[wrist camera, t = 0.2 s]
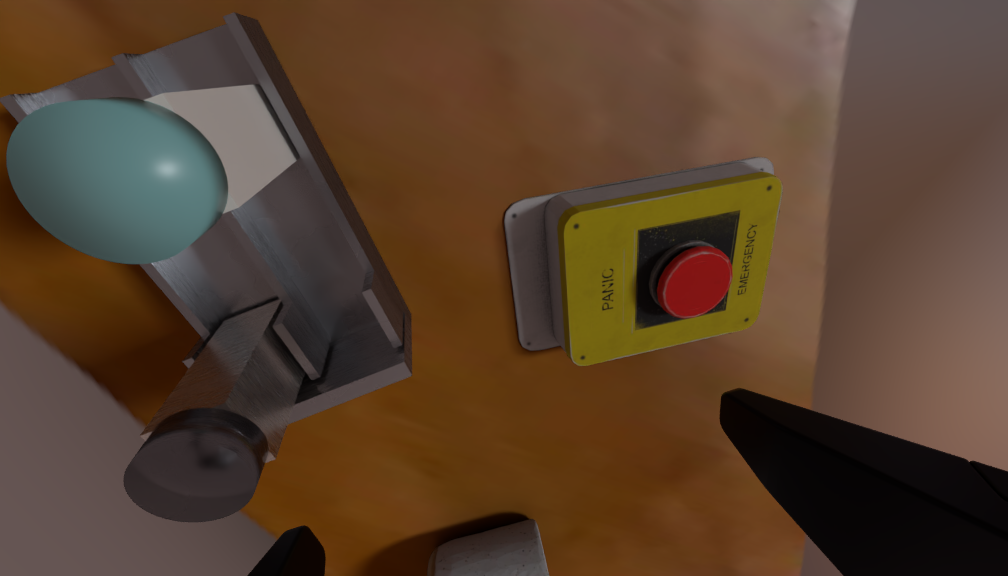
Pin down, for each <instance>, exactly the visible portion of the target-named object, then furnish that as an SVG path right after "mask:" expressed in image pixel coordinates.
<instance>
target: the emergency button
mask: <svg viewBox="0 0 1008 576" xmlns="http://www.w3.org/2000/svg"><path fill="white" fill-rule="evenodd" d="M773 174H774V170H773V164H772V163H771V162H770V161H769V160H768V159H767V158H761V157H753V158H748V159H742V160H737V161H731V162H725V163H720V164H714V165H709V166H703V167H698V168H692V169H687V170H681V171H675V172H670V173H664V174H659V175H653V176H648V177H642V178H636V179H631V180H625V181H620V182H614V183H609V184H603V185H597V186H592V187H586V188H581V189H575V190H570V191H564V192H559V193H553V194H547V195H542V196H536V197H531V198H525V199H522V200H519V201H517V202H515V203H513V204H512V205H511V206H510V207H509V208H508V209H507V211H506V213H505V218H504V225H505V233H506V241H507V248H508V256H509V264H510V272H511V280H512V287H513V295H514V303H515V311H516V319H517V327H518V334H519V341H520V343H521V344H522V346H523V348H526V349H528V350H530V351H533V350H543V349H548V348H552V347H557V346H561V347H562V348H563V349H564V351H565V352H566V353H567V356H568V357H569V358H570V359H571V360H572V361H573V362H574V363H575V364H577V365H578V366H588V365H592V364H596V363H601V362H605V361H609V360H614V359H618V358H622V357H627V356H631V355H636V354H640V353H644V352H649V351H653V350H657V349H662V348H666V347H670V346H675V345H679V344H684V343H688V342H692V341H697V340H701V339H705V338H710V337H714V336H718V335H723V334H727V333H732V332H736V331H740V330H744V329H746V328H748V327H750V326H751V325H752V324H753V323H754V322H755V321H756V320H757V317H758V315H759V312H760V307H761V301H762V296H763V291H764V286H765V281H766V276H767V270H768V265H769V260H770V255H771V250H772V245H773V239H774V234H775V229H776V224H777V219H778V214H779V208H780V203H781V198H782V193H783V187H782V182H781V181H780V180H779V178H778V177H776V176H774V175H773Z"/></svg>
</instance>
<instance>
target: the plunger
mask: <svg viewBox="0 0 1008 576" xmlns="http://www.w3.org/2000/svg"><path fill="white" fill-rule="evenodd" d="M6 156H7V169H8V174H9V178H10V181H11V184H12V186H13V189H14V191H15V193H16V194H17V196H18V198H19V200H20V201H21V203H22V204H23V206H24V207H25V209H26V210H27V211H28V212H29V213H30V215H31V216H32V217H33V218H34V219H35V220H36V221H37V222H38V223H39V224H40V225H41V226H42V227H43V228H44V229H46V230H47V231H48V232H49V233H51V234H52V235H53V236H54V237H56V238H57V239H59V240H60V241H62V242H63V243H65V244H67V245H69V246H70V247H72V248H74V249H76V250H78V251H80V252H83V253H85V254H87V255H90V256H93V257H96V258H99V259H102V260H107V261H111V262H116V263H123V264H148V263H154V262H159V261H162V260H165V259H168V258H171V257H173V256H175V255H177V254H178V253H180V252H182V251H183V250H185V249H186V248H187V247H188V246H190V245H191V244H192V243H193V242H194V241H196V240H197V239H198V238H199V237H201V236H202V235H203V234H204V233H206V232H207V231H208V230H209V229H211V228H212V227H213V226H214V225H215V224H216V223H217V221H218V220H219V219H220V218H221V216H222V214H223V213H226V212H229V211H231V210H234V209H237V208H239V207H240V206H242V205H243V204H244V203H245V202H246V201H248V200H249V199H250V198H251V197H253V196H254V195H255V194H256V193H258V192H259V191H260V190H261V189H262V188H264V187H265V186H266V185H267V184H269V183H270V182H271V181H272V180H273V179H275V178H276V177H277V176H278V175H280V174H281V173H282V172H283V171H284V170H286V169H287V168H288V167H289V166H291V165H292V164H293V163H294V162H296V161H297V160H298V159H299V158H300V157H299V155H298V154H297V152H296V150H295V148H294V146H293V145H292V143H291V141H290V139H289V137H288V136H287V134H286V132H285V130H284V128H283V127H282V125H281V123H280V121H279V119H278V118H277V116H276V114H275V112H274V110H273V109H272V107H271V105H270V103H269V102H268V100H267V98H266V96H265V94H264V93H263V91H262V89H261V87H260V85H259V84H253V85H242V86H232V87H222V88H211V89H201V90H190V91H180V92H170V93H162V94H159V95H156V96H154V97H151V98H148V99H145V100H141V99H136V98H128V97H109V98H98V99H87V100H77V101H67V102H59V103H54V104H50V105H47V106H44V107H42V108H39V109H37V110H35V111H33V112H32V113H30V114H29V115H28V116H26V117H25V118H24V119H23V120H22V121H21V122H20V123H19V124H18V125H17V126H16V128H15V130H14V131H13V133H12V135H11V137H10V140H9V143H8V148H7V154H6Z"/></svg>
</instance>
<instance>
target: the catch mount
mask: <svg viewBox="0 0 1008 576" xmlns="http://www.w3.org/2000/svg"><path fill="white" fill-rule="evenodd" d="M223 18H224V20H225V21H226V23H227V24H225V25H222V26H219V27H217V28H214V29H211V30H209V31H206V32H203V33H200V34H198V35H195V36H192V37H189V38H187V39H184V40H181V41H179V42H176V43H173V44H170V45H168V46H165V47H162V48H159V49H157V50H154V51H151V52H149V53H146V54H127V53H123V54H120V55H117V56H114V57H112V59H113V61H114V62H115V64H116V65H113V66H110V67H108V68H105V69H102V70H99V71H97V72H94V73H91V74H89V75H86V76H83V77H80V78H78V79H75V80H72V81H69V82H67V83H64V84H61V85H59V86H56V87H53V88H50V89H48V90H45V91H42V92H39V93H28V94H12V95H8V96H5V97H2V98H0V102H1V103H2V104H3V105H4V106H5V108H6V109H7V110H8V111H9V112H10V113H11V115H12V116H13V117H14V118H15V119H16V120H17V122H18V123H20V122H21V121H22V120H23V119H24V118H25V117H26V116H28V115H29V114H30V113H32V112H33V111H35V110H37V109H39V108H42V107H44V106H47V105H50V104H54V103H59V102H67V101H77V100H87V99H98V98H109V97H128V98H136V99H141V100H145V99H148V98H151V97H154V96H156V95H159V94H162V93H170V92H180V91H190V90H201V89H211V88H222V87H232V86H242V85H253V84H259V85H260V87H261V89H262V91H263V93H264V94H265V96H266V98H267V100H268V102H269V103H270V105H271V107H272V109H273V110H274V112H275V114H276V116H277V118H278V119H279V121H280V123H281V125H282V127H283V128H284V130H285V132H286V134H287V136H288V137H289V139H290V141H291V143H292V145H293V146H294V148H295V150H296V152H297V154H298V155H299V157H300V158H299V159H298V160H297V161H296V162H294V163H293V164H292V165H291V166H289V167H288V168H287V169H286V170H284V171H283V172H282V173H281V174H280V175H278V176H277V177H276V178H275V179H273V180H272V181H271V182H270V183H269V184H267V185H266V186H265V187H264V188H262V189H261V190H260V191H259V192H258V193H256V194H255V195H254V196H253V197H251V198H250V199H249V200H248V201H246V202H245V203H244V204H243V205H242V206H240V207H239V208H237V209H234V210H231V211H229V212H226V213H223V214H222V216H221V218H220V219H219V220H218V221H217V223H216V224H215V225H214V226H213V227H212V228H211V229H209V230H208V231H207V232H206V233H204V234H203V235H202V236H201V237H199V238H198V239H197V240H196V241H194V242H193V243H192V244H191V245H190V246H188V247H187V248H186V249H185V250H183V251H182V252H180V253H178V254H177V255H175V256H173V257H171V258H168V259H165V260H162V261H159V262H154V263H148V264H140V266H141V267H142V268H143V269H144V270H145V271H146V273H147V274H148V275H149V276H150V277H151V278H152V280H153V281H154V282H155V283H156V284H157V286H158V287H159V288H160V289H161V290H162V291H163V293H164V294H165V295H166V296H167V297H168V298H169V300H170V301H171V302H172V303H173V304H174V305H175V307H176V308H177V309H178V310H179V311H180V312H181V314H182V315H183V316H184V317H185V318H186V319H187V321H188V322H189V323H190V324H191V325H192V326H193V328H194V329H195V330H196V331H197V332H198V334H199V335H200V336H201V338H200V339H199V341H198V342H197V343H196V344H195V346H194V347H193V348H192V350H191V351H190V352H189V353H188V355H187V356H186V357H185V359H184V360H183V361H182V362H183V363H184V364H185V365H186V366H187V367H188V368H189V369H188V371H187V372H186V373H185V375H184V376H183V378H182V379H181V380H180V382H179V383H178V384H177V386H176V387H175V388H174V390H173V391H172V393H171V394H170V395H169V397H168V398H167V399H166V401H165V402H164V403H163V405H162V406H161V408H160V409H159V410H158V412H157V413H156V414H155V416H154V417H153V418H152V420H151V421H150V423H149V424H148V425H147V427H146V428H145V429H144V431H143V432H142V433H141V435H140V437H141V438H142V439H143V440H145V443H144V444H143V445H142V447H141V448H140V450H139V451H138V453H137V454H136V455H135V457H134V458H133V460H132V461H131V462H130V464H129V465H128V467H127V469H126V471H125V474H124V487H125V489H126V492H127V494H128V495H129V497H130V498H131V499H132V500H133V502H135V503H136V504H137V505H138V506H139V507H141V508H142V509H144V510H145V511H147V512H149V513H151V514H154V515H156V516H158V517H162V518H165V519H169V520H174V521H180V522H205V521H212V520H216V519H220V518H224V517H226V516H229V515H231V514H233V513H235V512H237V511H239V510H240V509H241V508H243V507H244V506H245V505H246V504H247V503H248V502H249V501H250V499H251V498H252V496H253V494H254V492H255V489H256V486H257V484H258V481H259V478H260V475H261V473H262V470H263V467H264V464H265V463H266V462H269V461H272V460H274V459H276V457H277V454H278V451H279V448H280V445H281V442H282V439H283V436H284V433H285V430H286V427H287V425H288V424H290V423H293V422H295V421H298V420H300V419H303V418H305V417H308V416H310V415H313V414H316V413H318V412H321V411H323V410H326V409H328V408H331V407H333V406H336V405H339V404H341V403H344V402H346V401H349V400H351V399H354V398H356V397H359V396H362V395H364V394H367V393H369V392H372V391H374V390H377V389H379V388H382V387H385V386H387V385H390V384H392V383H395V382H397V381H400V380H402V379H405V378H408V377H410V376H412V332H411V313H410V311H409V309H408V307H407V306H406V304H405V302H404V300H403V298H402V296H401V294H400V292H399V290H398V288H397V286H396V285H395V283H394V281H393V279H392V277H391V275H390V273H389V271H388V269H387V267H386V265H385V263H384V262H383V260H382V258H381V256H380V254H379V252H378V250H377V248H376V246H375V244H374V242H373V240H372V239H371V237H370V235H369V233H368V231H367V229H366V227H365V225H364V223H363V221H362V219H361V217H360V216H359V214H358V212H357V210H356V208H355V206H354V204H353V202H352V200H351V198H350V196H349V195H348V193H347V191H346V189H345V187H344V185H343V183H342V181H341V179H340V177H339V175H338V173H337V172H336V170H335V168H334V166H333V164H332V162H331V160H330V158H329V156H328V154H327V152H326V150H325V149H324V147H323V145H322V143H321V141H320V139H319V137H318V135H317V133H316V131H315V129H314V127H313V126H312V124H311V122H310V120H309V118H308V116H307V114H306V112H305V110H304V108H303V106H302V105H301V103H300V101H299V99H298V97H297V95H296V93H295V91H294V89H293V87H292V85H291V83H290V82H289V80H288V78H287V76H286V74H285V72H284V70H283V68H282V66H281V64H280V62H279V60H278V59H277V57H276V55H275V53H274V51H273V49H272V47H271V45H270V43H269V41H268V39H267V37H266V36H265V34H264V32H263V30H262V28H261V26H260V24H259V22H258V20H256V19H253V18H250V17H247V16H244V15H241V14H238V13H232V14H229V15H226V16H224V17H223Z"/></svg>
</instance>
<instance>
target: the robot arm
mask: <svg viewBox="0 0 1008 576" xmlns="http://www.w3.org/2000/svg"><path fill="white" fill-rule="evenodd" d="M720 424H721V426H722V429H723V430H724V432H725V433H726V435H727V436H728V438H729V439H730V440H731V442H732V443H733V444H734V446H735V447H736V449H737V450H738V451H739V453H740V454H741V455H742V457H743V458H744V460H745V461H746V462H747V464H748V465H749V466H750V468H751V469H752V471H753V472H754V473H755V475H756V476H757V477H758V479H759V480H760V481H761V483H762V484H763V485H764V487H765V488H766V489H767V490H768V491H769V493H770V494H771V495H772V496H773V497H774V498H775V500H776V501H777V502H778V503H779V504H780V505H781V506H782V507H783V509H784V510H785V511H786V512H787V513H788V514H789V515H790V516H791V517H792V519H793V520H794V521H795V522H796V523H797V524H798V525H799V526H800V528H801V529H802V530H803V531H804V532H805V533H806V534H807V535H808V537H809V538H810V539H811V540H812V541H813V542H814V543H815V544H816V545H817V547H818V548H819V549H820V550H821V551H822V552H823V553H824V554H825V556H826V557H827V558H828V559H829V560H830V561H831V562H832V563H833V564H834V565H835V567H836V568H837V569H838V570H839V571H840V572H841V573H842V575H843V576H1008V471H1005V470H1002V469H998V468H995V467H992V466H988V465H985V464H982V463H979V462H976V461H970V462H968V460H966V459H964V458H961V457H958V456H955V455H951V454H948V453H945V452H942V451H939V450H936V449H932V448H929V447H926V446H923V445H920V444H917V443H914V442H910V441H907V440H904V439H901V438H898V437H895V436H891V435H888V434H885V433H882V432H878V431H876V430H872V429H869V428H866V427H863V426H859V425H856V424H853V423H850V422H847V421H843V420H841V419H837V418H834V417H831V416H828V415H825V414H821V413H818V412H815V411H812V410H809V409H806V408H803V407H799V406H796V405H793V404H790V403H787V402H784V401H780V400H777V399H774V398H771V397H768V396H765V395H761V394H758V393H755V392H752V391H749V390H746V389H741V388H737V389H734V390H731V391H727V392H725V393H723V394H722V396H721V405H720ZM324 574H325V551H324V548H323V546H322V545H321V543H320V542H319V541H318V539H317V538H316V536H315V535H314V534H313V532H312V531H311V530H310V528H309V527H307V526H305V525H304V526H300V527H296V528H293V529H290V530H287V531H286V532H284V533H283V534H282V535H281V536H280V538H279V539H278V540H277V541H276V542H275V544H274V545H273V546H272V547H271V548H270V550H269V551H268V552H267V553H266V554H265V555H264V557H263V558H262V559H261V560H260V561H259V563H258V564H257V565H256V566H255V567H254V569H253V570H252V571H251V572H250V573H249V574H248V576H324Z"/></svg>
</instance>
